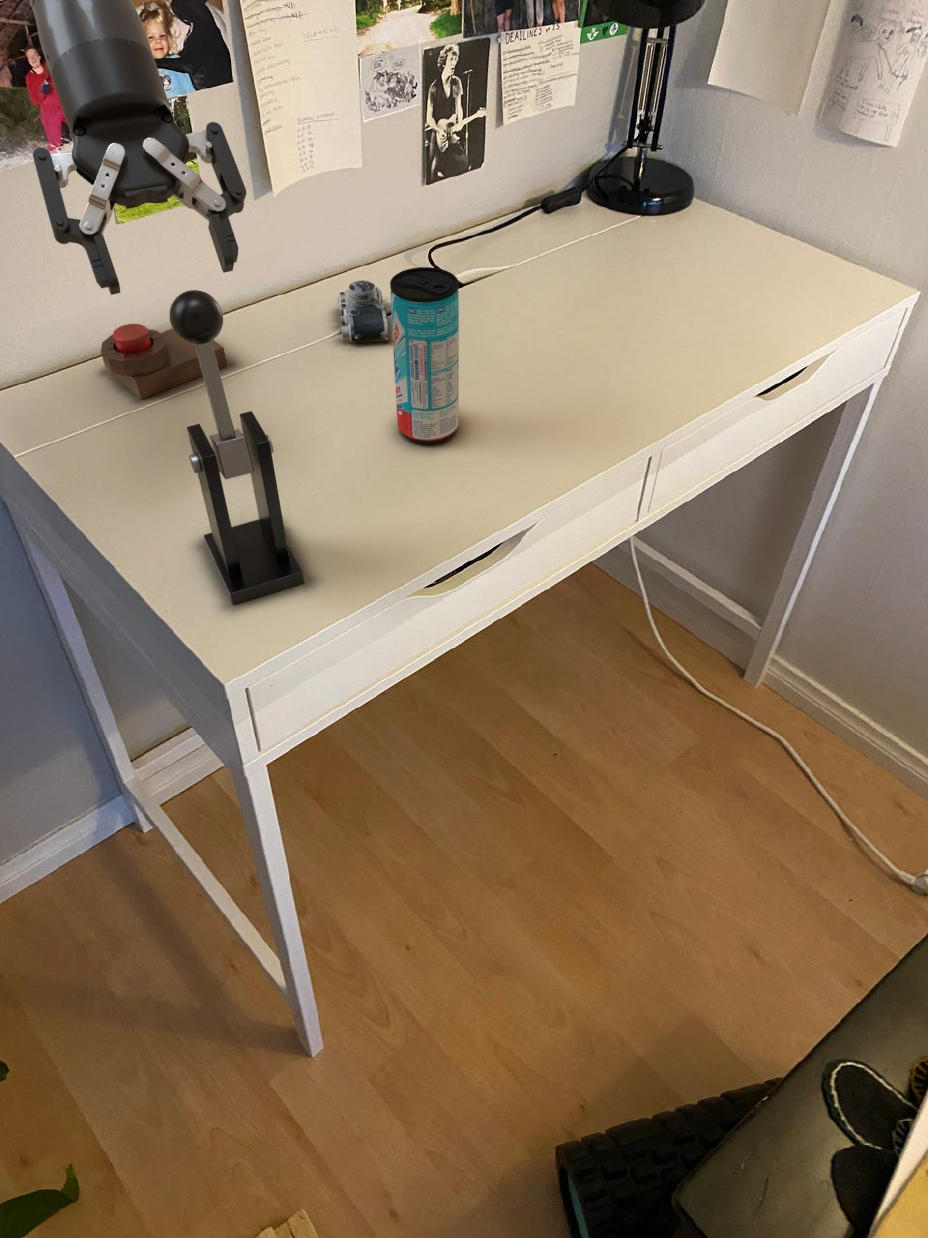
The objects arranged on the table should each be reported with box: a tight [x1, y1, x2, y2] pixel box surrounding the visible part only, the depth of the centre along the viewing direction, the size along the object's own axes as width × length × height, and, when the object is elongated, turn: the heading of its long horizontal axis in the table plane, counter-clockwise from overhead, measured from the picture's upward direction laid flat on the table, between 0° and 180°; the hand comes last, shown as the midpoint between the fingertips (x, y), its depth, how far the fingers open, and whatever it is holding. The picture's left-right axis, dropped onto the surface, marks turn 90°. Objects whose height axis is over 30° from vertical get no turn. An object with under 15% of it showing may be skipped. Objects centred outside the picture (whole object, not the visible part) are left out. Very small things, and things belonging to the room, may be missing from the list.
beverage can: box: [389, 266, 460, 445], centre depth 87 cm, size 6×6×15 cm
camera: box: [337, 279, 390, 344], centre depth 106 cm, size 5×10×4 cm, turn 8°
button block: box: [100, 328, 228, 400], centre depth 99 cm, size 11×7×4 cm, turn 131°
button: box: [112, 323, 151, 354], centre depth 96 cm, size 3×3×2 cm
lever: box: [168, 289, 254, 480], centre depth 68 cm, size 13×4×4 cm
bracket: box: [186, 410, 305, 605], centre depth 74 cm, size 8×6×13 cm
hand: (173, 279), depth 71 cm, fingers open, 8 cm apart
